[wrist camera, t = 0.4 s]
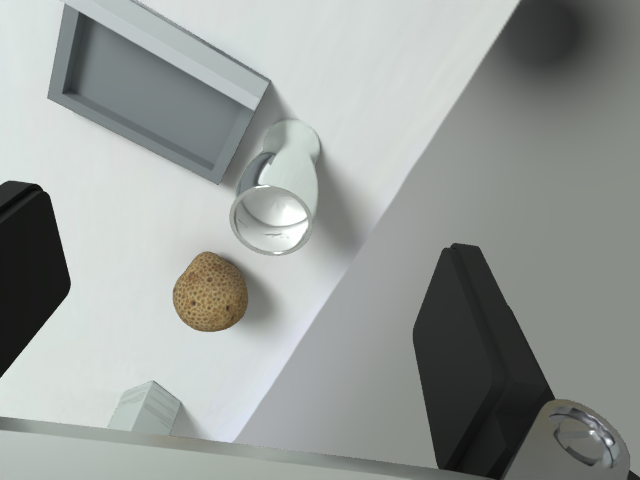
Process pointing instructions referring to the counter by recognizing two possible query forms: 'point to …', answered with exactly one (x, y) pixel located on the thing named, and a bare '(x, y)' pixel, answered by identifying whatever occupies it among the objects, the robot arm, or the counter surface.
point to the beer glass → (278, 191)
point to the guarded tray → (154, 83)
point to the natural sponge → (210, 294)
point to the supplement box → (146, 410)
